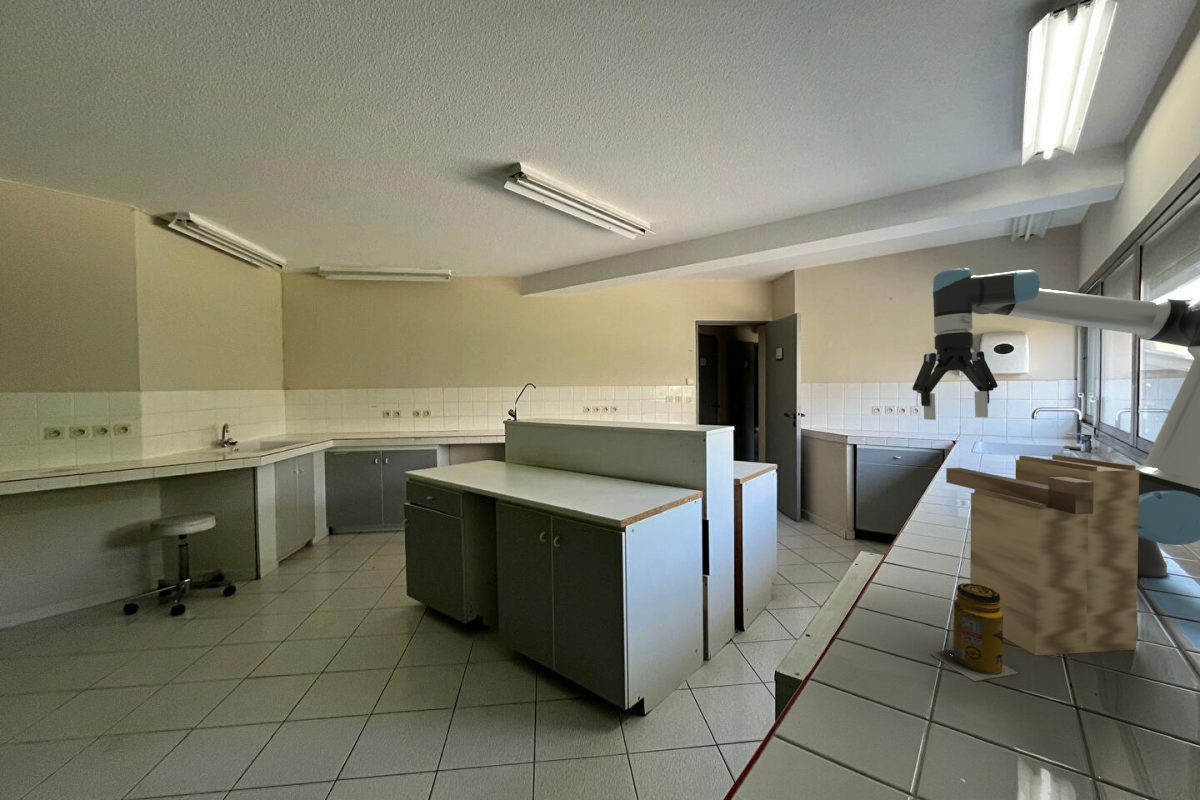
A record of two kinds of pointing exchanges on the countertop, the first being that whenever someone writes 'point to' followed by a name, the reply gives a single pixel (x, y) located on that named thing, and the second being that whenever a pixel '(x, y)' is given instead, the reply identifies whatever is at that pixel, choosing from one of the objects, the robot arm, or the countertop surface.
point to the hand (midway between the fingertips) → (955, 418)
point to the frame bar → (1031, 489)
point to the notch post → (1062, 559)
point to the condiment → (976, 634)
